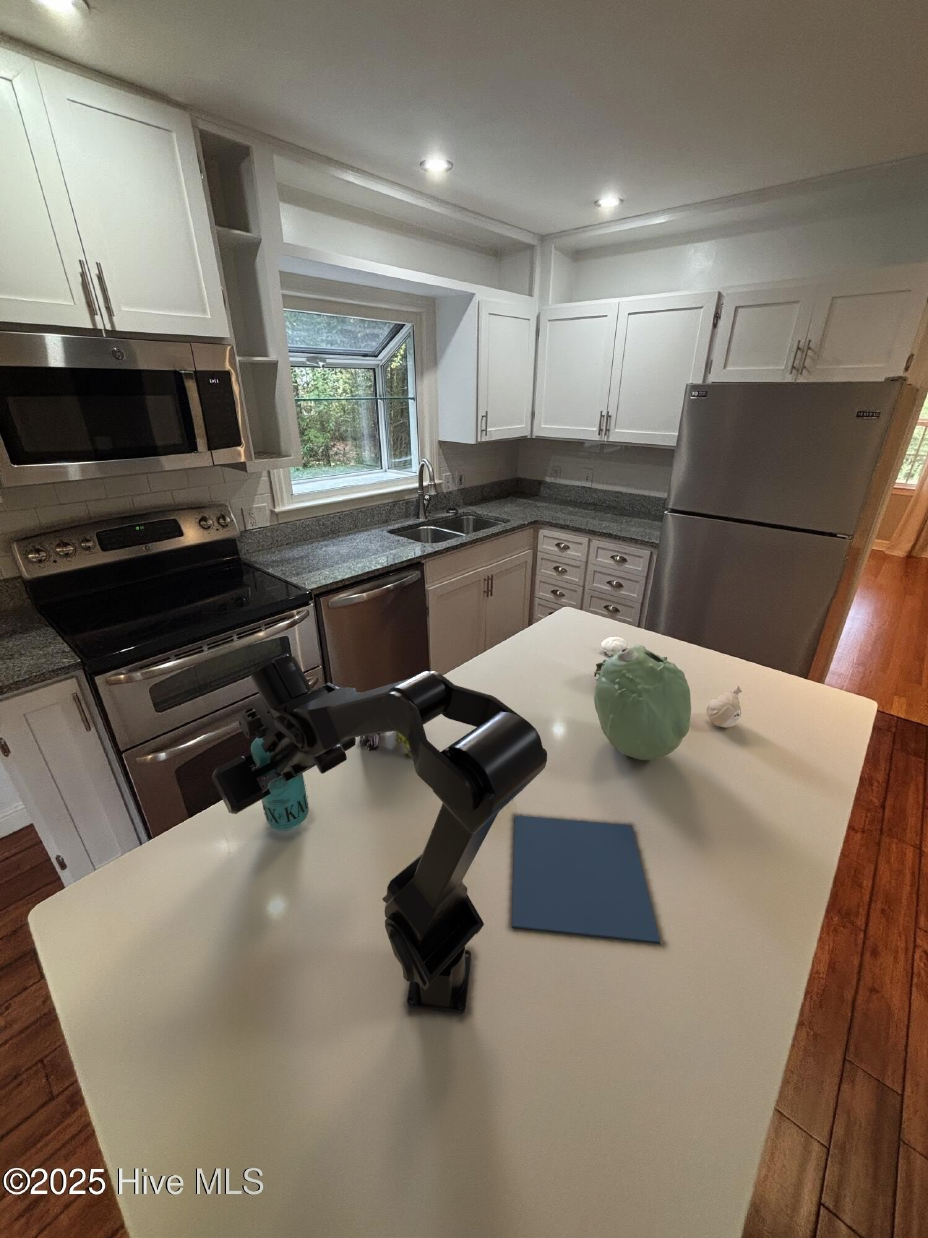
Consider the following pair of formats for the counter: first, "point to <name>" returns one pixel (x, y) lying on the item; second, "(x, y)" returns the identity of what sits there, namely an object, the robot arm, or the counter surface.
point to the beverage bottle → (282, 795)
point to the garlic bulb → (725, 709)
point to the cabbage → (642, 703)
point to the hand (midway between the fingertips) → (275, 770)
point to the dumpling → (613, 645)
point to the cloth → (580, 880)
